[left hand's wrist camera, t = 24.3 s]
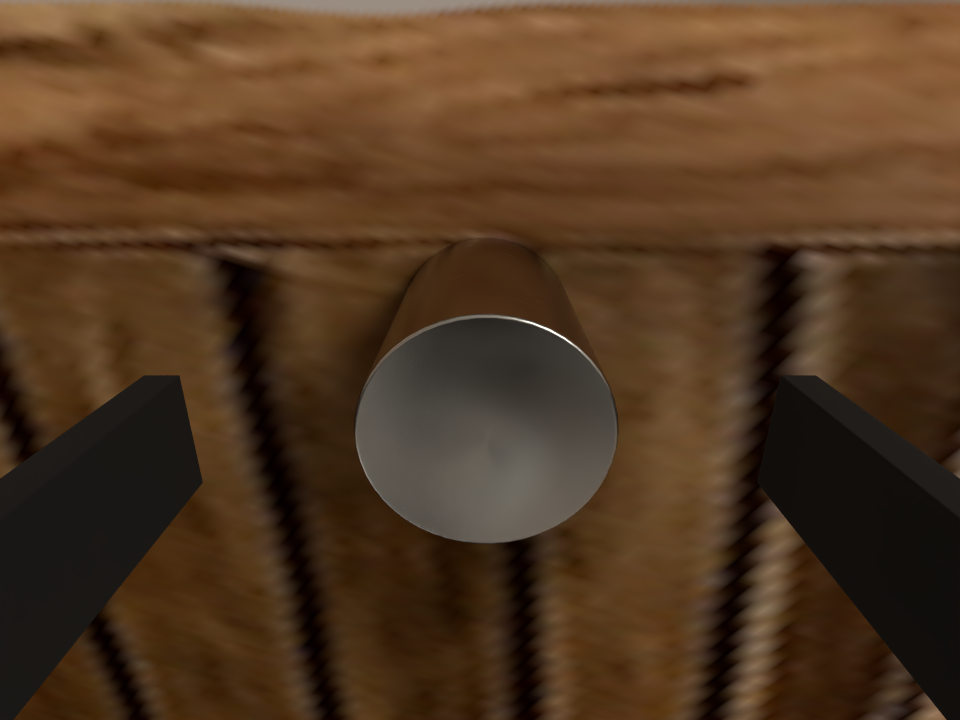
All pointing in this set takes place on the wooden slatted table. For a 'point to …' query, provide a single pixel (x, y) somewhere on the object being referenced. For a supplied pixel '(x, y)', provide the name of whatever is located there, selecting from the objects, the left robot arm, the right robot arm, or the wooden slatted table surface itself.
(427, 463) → the canister
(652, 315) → the wooden slatted table surface
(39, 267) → the wooden slatted table surface
